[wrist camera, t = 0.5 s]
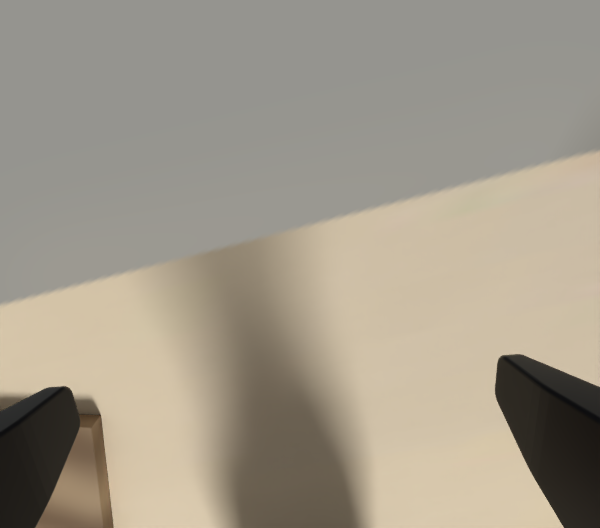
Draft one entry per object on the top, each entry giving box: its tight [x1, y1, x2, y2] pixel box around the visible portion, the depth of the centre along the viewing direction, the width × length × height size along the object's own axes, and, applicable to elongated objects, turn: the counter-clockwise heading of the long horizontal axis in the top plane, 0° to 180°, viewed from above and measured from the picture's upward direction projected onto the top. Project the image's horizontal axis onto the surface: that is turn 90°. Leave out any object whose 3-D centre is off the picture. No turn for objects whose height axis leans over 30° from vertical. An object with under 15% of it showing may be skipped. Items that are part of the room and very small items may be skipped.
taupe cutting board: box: [36, 415, 113, 528], centre depth 27 cm, size 14×14×1 cm
